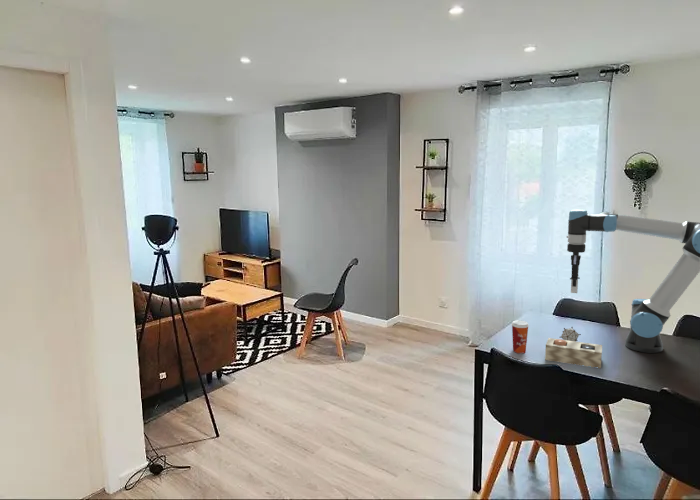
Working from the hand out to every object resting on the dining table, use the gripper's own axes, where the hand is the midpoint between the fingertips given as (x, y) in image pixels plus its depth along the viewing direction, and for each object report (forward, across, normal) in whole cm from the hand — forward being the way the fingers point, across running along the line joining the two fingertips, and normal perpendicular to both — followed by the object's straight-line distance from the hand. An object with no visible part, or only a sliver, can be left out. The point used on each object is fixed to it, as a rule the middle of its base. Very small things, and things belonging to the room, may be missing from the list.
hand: (574, 292), depth 220 cm
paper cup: (+27, +17, -21) cm, 38 cm away
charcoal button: (+25, +18, +7) cm, 32 cm away
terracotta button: (+24, +18, -3) cm, 30 cm away
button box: (+26, +18, +2) cm, 32 cm away
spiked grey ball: (+27, -3, -1) cm, 27 cm away
